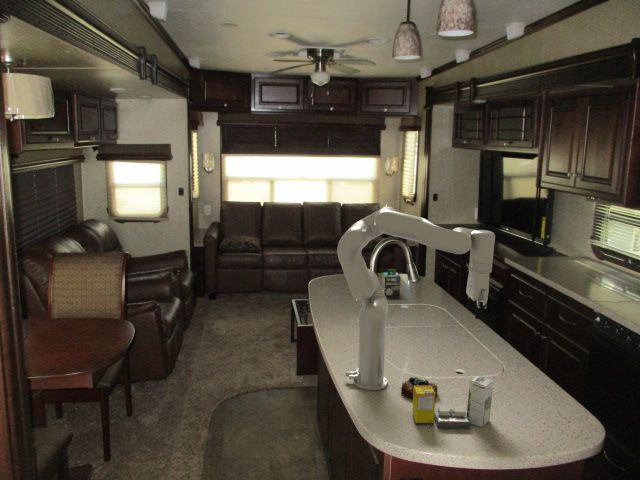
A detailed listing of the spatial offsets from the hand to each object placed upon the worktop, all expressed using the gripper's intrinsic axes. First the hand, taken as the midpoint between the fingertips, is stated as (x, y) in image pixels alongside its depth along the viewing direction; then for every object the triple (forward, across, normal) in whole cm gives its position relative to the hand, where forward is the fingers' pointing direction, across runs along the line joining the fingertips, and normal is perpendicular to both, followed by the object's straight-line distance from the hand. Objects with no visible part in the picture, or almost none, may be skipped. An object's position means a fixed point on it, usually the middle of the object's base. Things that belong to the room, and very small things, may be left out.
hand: (475, 314), depth 192 cm
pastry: (+31, 0, -17) cm, 36 cm away
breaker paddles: (+27, +19, -11) cm, 35 cm away
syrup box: (+30, +19, -2) cm, 36 cm away
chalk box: (+31, -122, -10) cm, 127 cm away
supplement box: (+31, +18, -20) cm, 41 cm away
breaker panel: (+30, +20, -11) cm, 38 cm away
